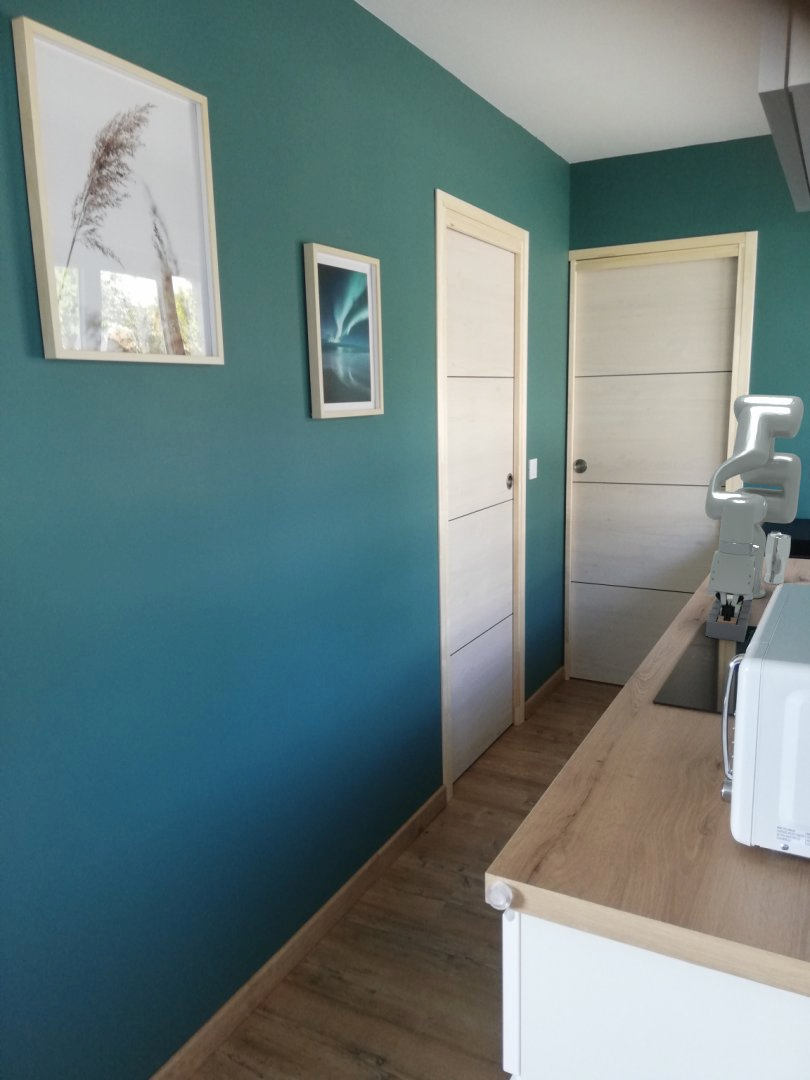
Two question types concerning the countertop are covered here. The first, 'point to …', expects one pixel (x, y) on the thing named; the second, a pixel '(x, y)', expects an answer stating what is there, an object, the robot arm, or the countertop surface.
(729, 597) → the key cream
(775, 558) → the beer glass
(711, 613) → the keypad
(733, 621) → the key terracotta
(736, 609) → the key grey
